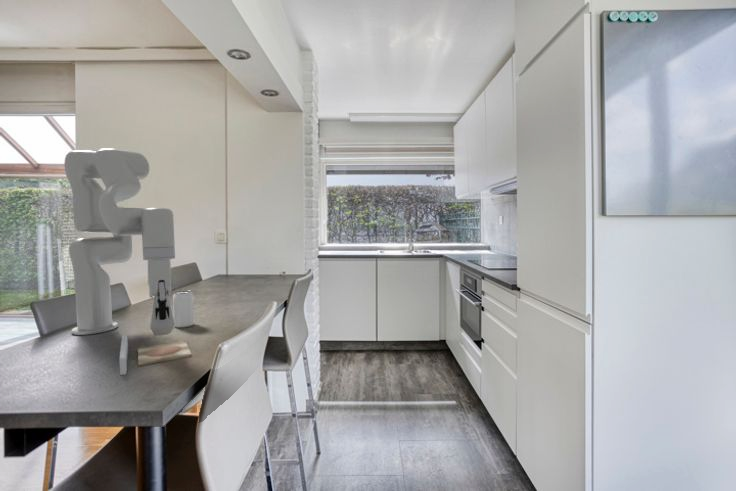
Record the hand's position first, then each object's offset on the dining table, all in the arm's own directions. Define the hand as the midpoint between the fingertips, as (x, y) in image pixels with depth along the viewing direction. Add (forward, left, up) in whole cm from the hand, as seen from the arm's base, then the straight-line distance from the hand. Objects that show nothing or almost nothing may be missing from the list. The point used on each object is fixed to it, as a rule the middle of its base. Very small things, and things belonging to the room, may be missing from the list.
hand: (162, 319), depth 98 cm
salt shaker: (0, 0, -4) cm, 4 cm away
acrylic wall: (0, -9, -9) cm, 13 cm away
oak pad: (0, 0, -9) cm, 9 cm away
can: (-28, +8, -9) cm, 31 cm away
